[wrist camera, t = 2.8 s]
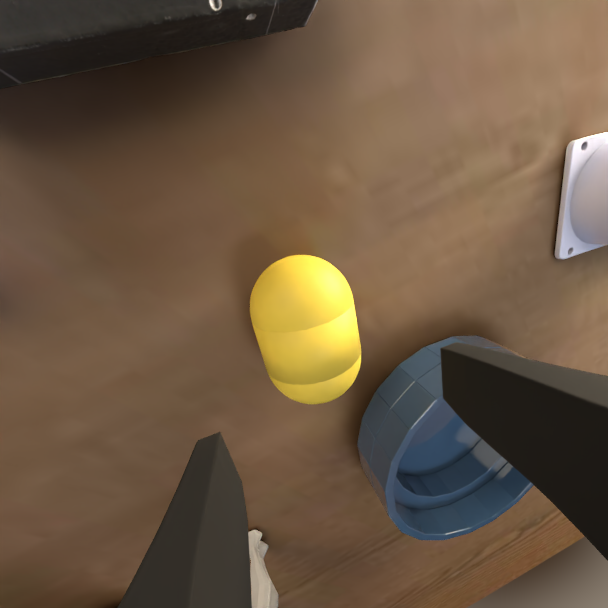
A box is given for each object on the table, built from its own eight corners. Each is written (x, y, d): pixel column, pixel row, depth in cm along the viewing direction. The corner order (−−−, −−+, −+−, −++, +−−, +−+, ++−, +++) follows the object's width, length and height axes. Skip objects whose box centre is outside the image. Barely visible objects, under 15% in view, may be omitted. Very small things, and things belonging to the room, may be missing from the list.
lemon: (322, 238, 17) (365, 250, 12) (344, 355, 20) (385, 403, 15) (233, 262, 16) (240, 286, 11) (270, 382, 19) (288, 442, 14)
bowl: (515, 308, 23) (581, 331, 18) (506, 447, 28) (556, 488, 24) (340, 371, 20) (372, 415, 16) (368, 511, 25) (397, 570, 21)
